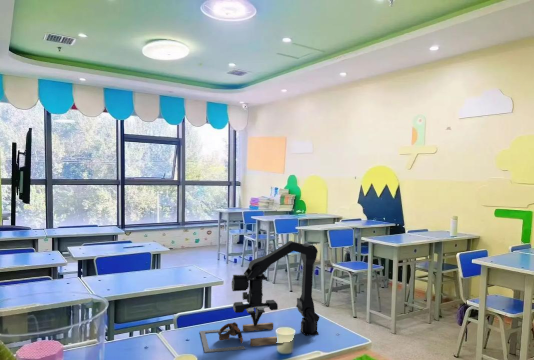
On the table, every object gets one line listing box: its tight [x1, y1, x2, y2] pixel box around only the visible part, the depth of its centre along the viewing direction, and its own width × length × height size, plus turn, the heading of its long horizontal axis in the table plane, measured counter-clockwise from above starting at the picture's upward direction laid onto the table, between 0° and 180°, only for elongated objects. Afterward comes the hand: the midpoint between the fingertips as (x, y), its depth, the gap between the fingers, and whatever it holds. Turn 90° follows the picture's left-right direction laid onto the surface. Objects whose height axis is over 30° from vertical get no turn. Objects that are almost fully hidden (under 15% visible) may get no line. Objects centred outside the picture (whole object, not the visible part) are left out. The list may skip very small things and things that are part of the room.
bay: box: [199, 328, 246, 354], centre depth 158 cm, size 16×21×1 cm
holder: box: [242, 322, 277, 347], centre depth 163 cm, size 14×17×2 cm
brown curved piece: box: [217, 321, 244, 344], centre depth 158 cm, size 12×10×8 cm
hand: (255, 325), depth 162 cm, fingers closed
